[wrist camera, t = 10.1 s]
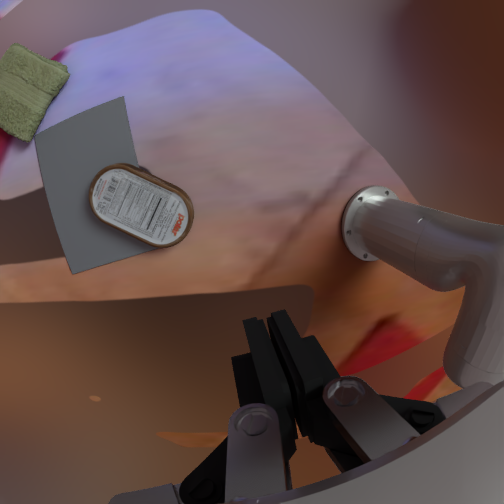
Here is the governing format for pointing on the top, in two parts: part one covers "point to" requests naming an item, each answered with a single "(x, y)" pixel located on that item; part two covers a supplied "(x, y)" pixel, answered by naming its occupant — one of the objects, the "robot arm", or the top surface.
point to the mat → (86, 182)
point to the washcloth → (27, 89)
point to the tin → (141, 205)
